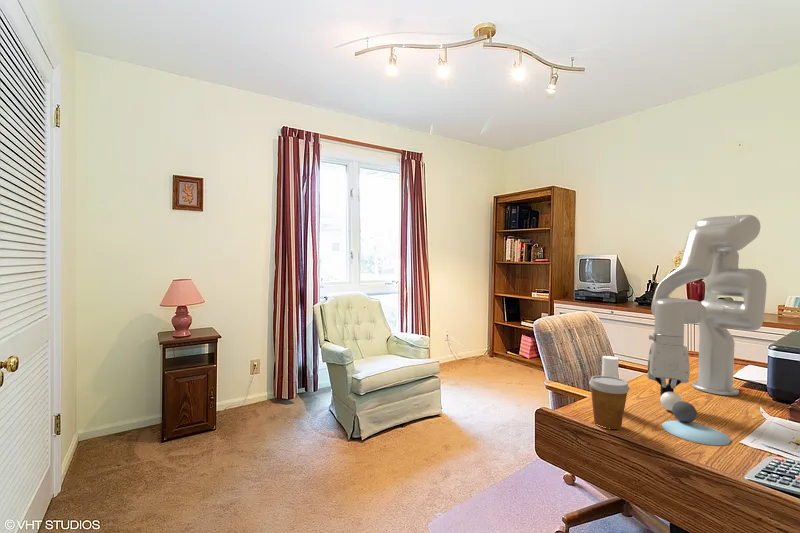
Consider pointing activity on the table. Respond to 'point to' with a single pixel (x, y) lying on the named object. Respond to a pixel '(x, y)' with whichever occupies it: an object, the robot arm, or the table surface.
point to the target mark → (696, 433)
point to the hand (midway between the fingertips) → (666, 399)
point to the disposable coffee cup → (608, 400)
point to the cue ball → (669, 400)
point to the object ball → (684, 411)
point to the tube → (610, 366)
